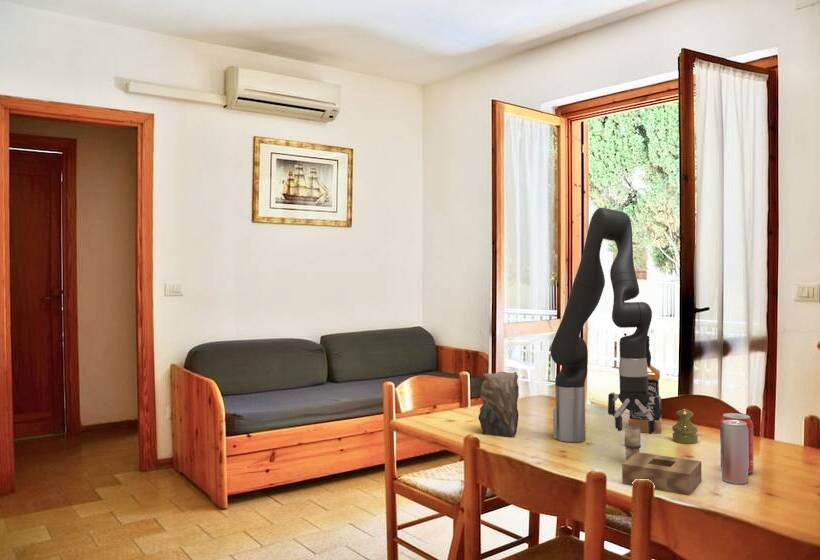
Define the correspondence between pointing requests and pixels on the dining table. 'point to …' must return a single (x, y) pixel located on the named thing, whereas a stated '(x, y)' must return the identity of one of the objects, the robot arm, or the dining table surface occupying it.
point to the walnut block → (663, 472)
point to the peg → (632, 441)
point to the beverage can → (734, 451)
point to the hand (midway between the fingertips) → (635, 432)
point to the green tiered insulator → (685, 428)
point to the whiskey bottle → (639, 417)
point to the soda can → (750, 435)
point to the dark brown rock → (499, 404)
